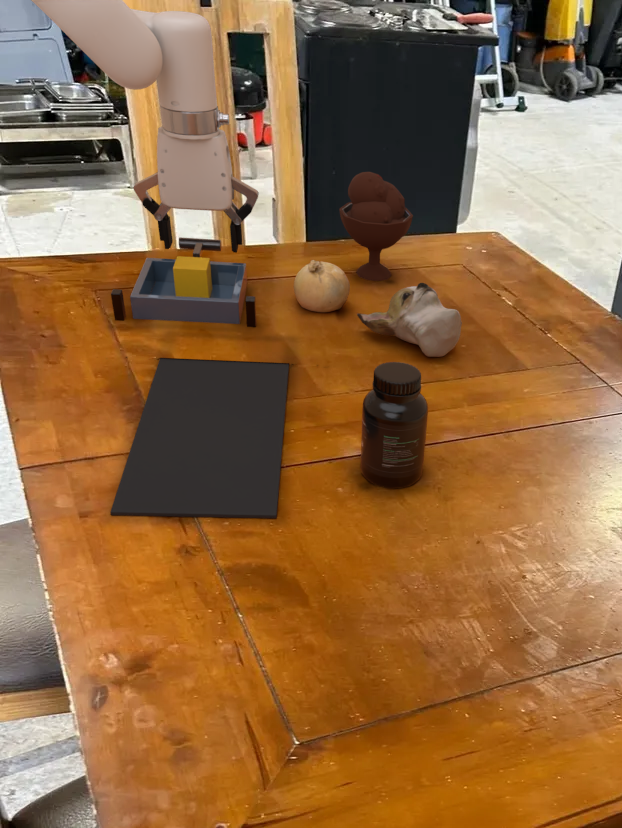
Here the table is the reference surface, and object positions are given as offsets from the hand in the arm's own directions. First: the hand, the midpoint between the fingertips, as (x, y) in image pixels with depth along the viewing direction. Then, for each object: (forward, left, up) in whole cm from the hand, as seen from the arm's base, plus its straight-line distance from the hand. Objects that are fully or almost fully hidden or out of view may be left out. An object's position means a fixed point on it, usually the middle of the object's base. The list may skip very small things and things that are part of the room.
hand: (202, 247), depth 132 cm
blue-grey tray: (0, -9, -4) cm, 10 cm away
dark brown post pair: (0, -19, -4) cm, 19 cm away
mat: (+6, -42, -4) cm, 43 cm away
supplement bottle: (+26, -54, -4) cm, 60 cm away
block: (0, -10, -3) cm, 11 cm away
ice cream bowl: (+26, +3, -4) cm, 26 cm away
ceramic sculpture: (+31, -21, -4) cm, 37 cm away
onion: (+18, -11, -4) cm, 21 cm away
